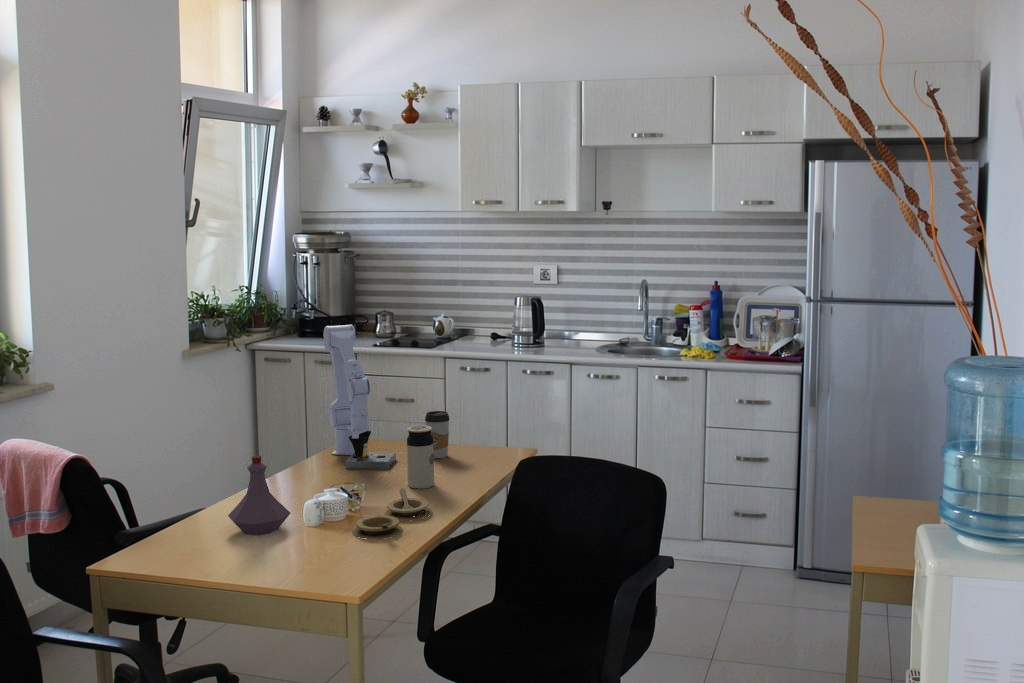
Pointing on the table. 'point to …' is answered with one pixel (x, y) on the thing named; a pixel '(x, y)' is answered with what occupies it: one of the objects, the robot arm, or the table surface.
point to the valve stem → (364, 452)
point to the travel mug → (420, 457)
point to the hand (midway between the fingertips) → (360, 454)
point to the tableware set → (392, 518)
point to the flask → (258, 505)
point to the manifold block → (371, 461)
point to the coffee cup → (439, 431)
